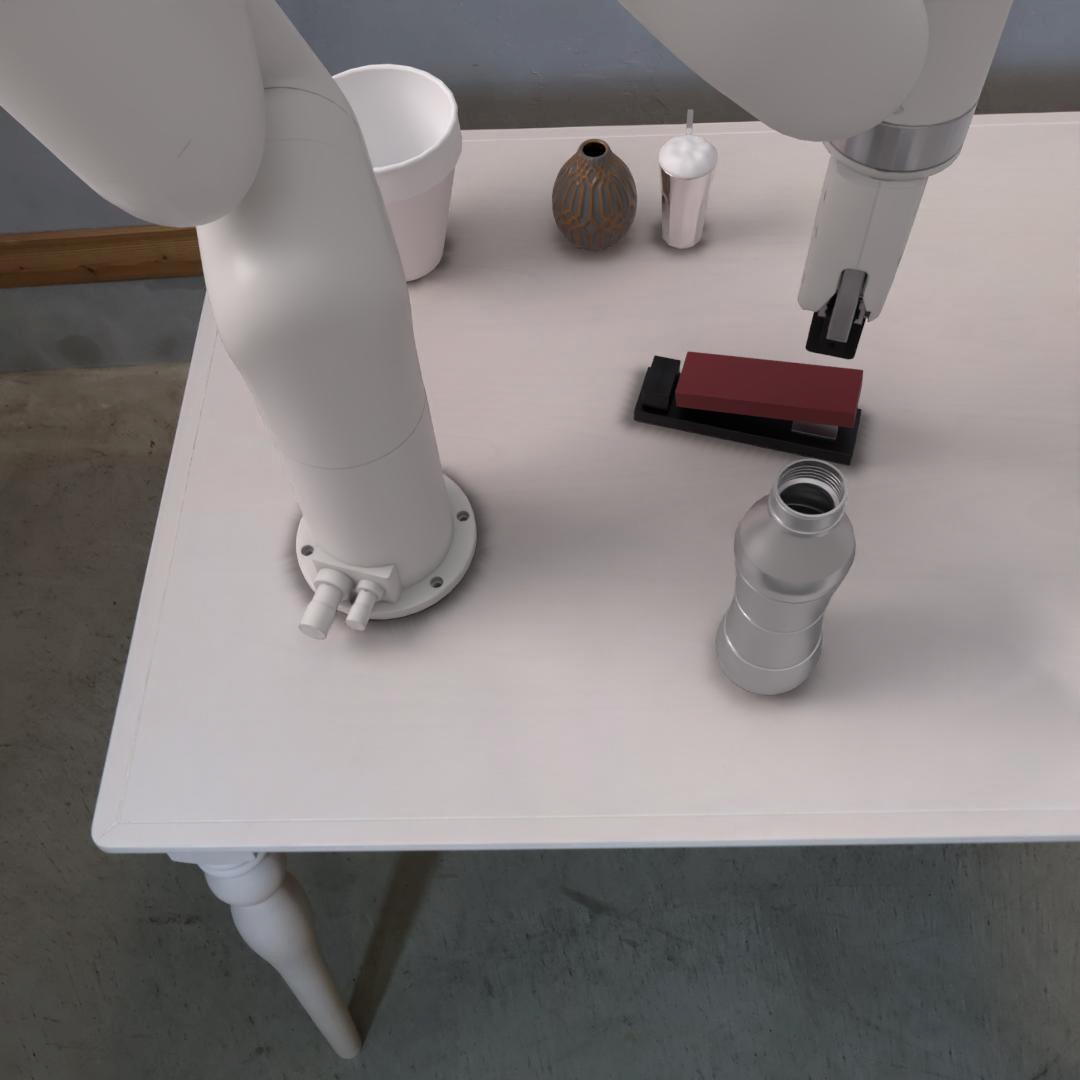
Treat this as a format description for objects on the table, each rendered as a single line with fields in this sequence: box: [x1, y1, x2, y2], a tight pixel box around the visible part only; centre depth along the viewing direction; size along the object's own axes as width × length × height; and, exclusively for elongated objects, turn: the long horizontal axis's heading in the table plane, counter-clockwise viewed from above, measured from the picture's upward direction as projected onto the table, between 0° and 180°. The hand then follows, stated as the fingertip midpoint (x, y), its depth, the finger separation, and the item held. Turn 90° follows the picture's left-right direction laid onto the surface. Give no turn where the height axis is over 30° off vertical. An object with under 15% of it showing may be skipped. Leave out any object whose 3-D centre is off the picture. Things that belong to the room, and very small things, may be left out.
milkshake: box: [657, 109, 719, 250], centre depth 90 cm, size 4×5×10 cm
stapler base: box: [633, 354, 863, 466], centre depth 82 cm, size 16×4×3 cm, turn 73°
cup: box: [331, 63, 463, 282], centre depth 89 cm, size 12×12×14 cm
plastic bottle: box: [715, 458, 857, 696], centre depth 65 cm, size 6×7×20 cm
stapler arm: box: [675, 350, 864, 428], centre depth 80 cm, size 12×4×2 cm, turn 73°
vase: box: [551, 138, 638, 252], centre depth 91 cm, size 7×7×9 cm
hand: (830, 346), depth 74 cm, fingers closed
